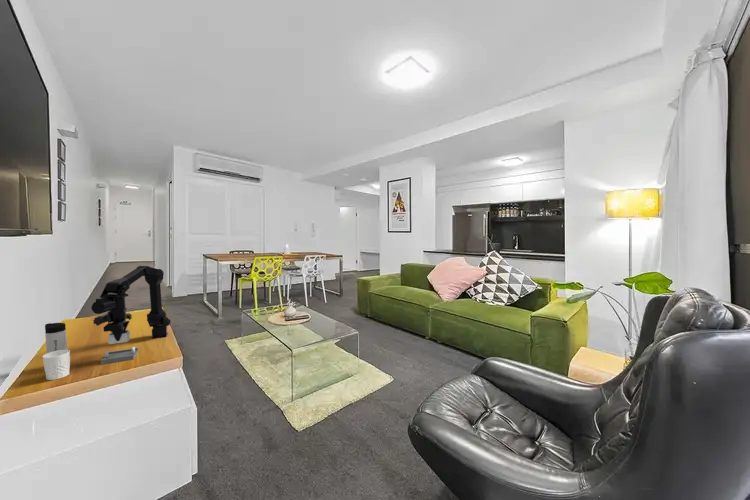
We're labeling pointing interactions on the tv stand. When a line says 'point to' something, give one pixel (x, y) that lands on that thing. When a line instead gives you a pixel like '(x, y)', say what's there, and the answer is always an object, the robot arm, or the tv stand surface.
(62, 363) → the white cup
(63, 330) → the travel mug
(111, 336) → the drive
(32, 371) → the tv stand surface
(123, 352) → the tray
